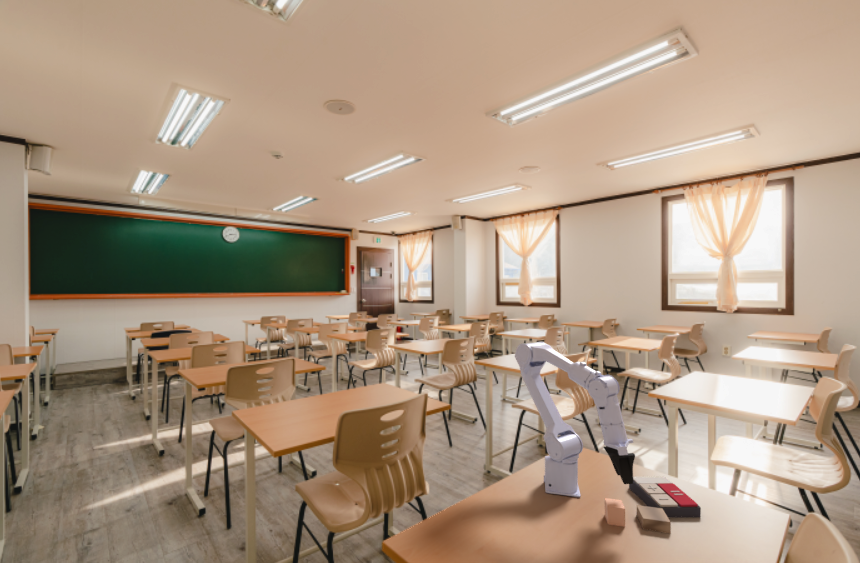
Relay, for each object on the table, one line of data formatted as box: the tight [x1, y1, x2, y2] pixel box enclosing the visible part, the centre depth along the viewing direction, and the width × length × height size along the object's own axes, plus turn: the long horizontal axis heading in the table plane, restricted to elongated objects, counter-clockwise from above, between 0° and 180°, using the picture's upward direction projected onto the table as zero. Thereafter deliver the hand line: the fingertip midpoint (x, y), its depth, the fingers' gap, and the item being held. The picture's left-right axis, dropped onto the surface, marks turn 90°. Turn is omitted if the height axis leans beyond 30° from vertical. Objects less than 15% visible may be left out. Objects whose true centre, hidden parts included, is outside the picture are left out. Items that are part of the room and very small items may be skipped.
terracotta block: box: [604, 497, 626, 527], centre depth 98 cm, size 4×4×4 cm
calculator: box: [628, 475, 702, 519], centre depth 107 cm, size 11×4×15 cm
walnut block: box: [636, 504, 672, 534], centre depth 97 cm, size 6×6×3 cm
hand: (624, 479), depth 99 cm, fingers open, 7 cm apart
